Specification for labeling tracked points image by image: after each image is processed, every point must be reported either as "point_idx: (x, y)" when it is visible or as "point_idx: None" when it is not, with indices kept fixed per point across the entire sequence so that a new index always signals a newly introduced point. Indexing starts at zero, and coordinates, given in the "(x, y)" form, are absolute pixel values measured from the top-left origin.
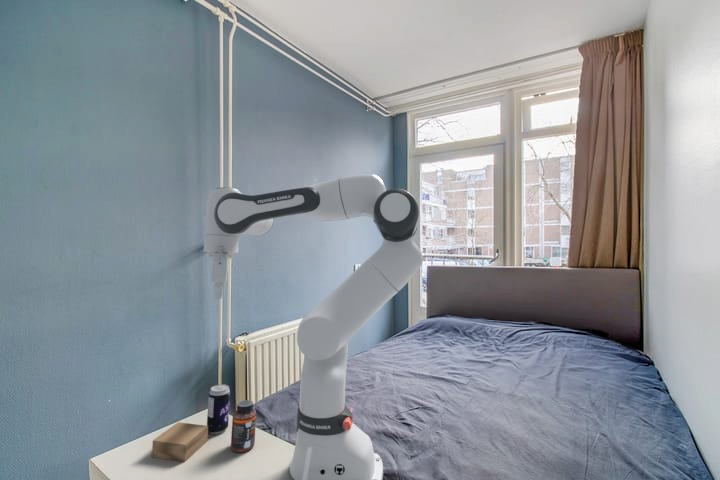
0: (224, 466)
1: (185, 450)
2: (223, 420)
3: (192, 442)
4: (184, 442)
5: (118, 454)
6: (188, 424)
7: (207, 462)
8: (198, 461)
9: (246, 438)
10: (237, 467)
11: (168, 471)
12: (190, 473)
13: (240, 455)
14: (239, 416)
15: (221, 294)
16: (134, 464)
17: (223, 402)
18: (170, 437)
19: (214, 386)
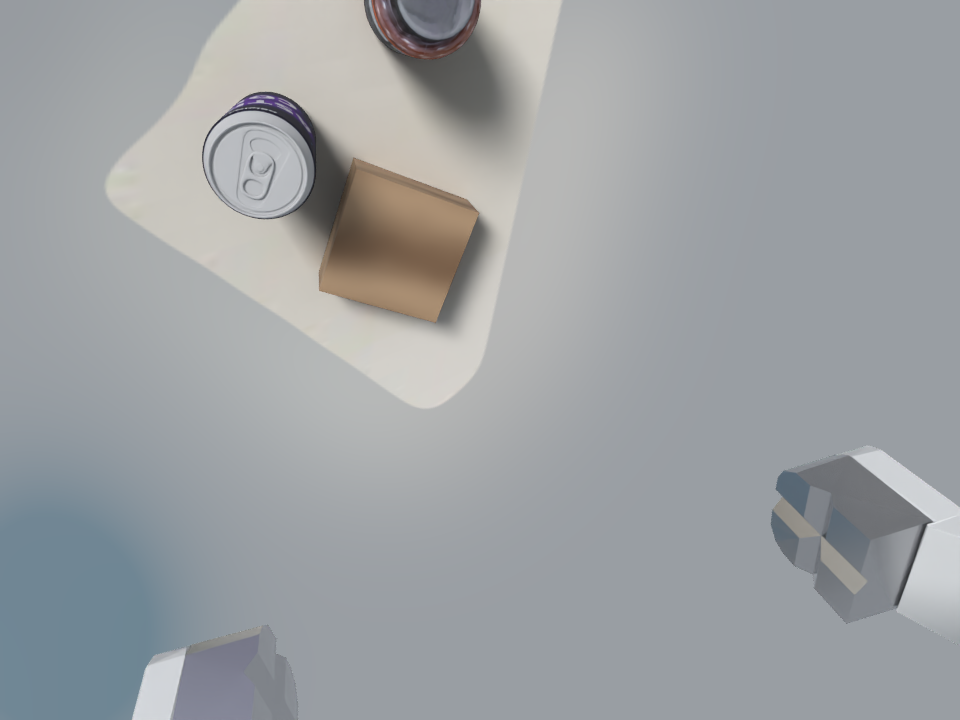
0: (514, 61)
1: (474, 208)
2: (300, 113)
3: (445, 198)
4: (464, 222)
5: (400, 390)
6: (339, 248)
7: (482, 125)
8: (471, 157)
9: None
10: (529, 11)
11: (503, 230)
12: (525, 165)
13: None
14: (473, 21)
15: (926, 491)
16: (454, 330)
17: (303, 129)
18: (425, 277)
19: (234, 205)
